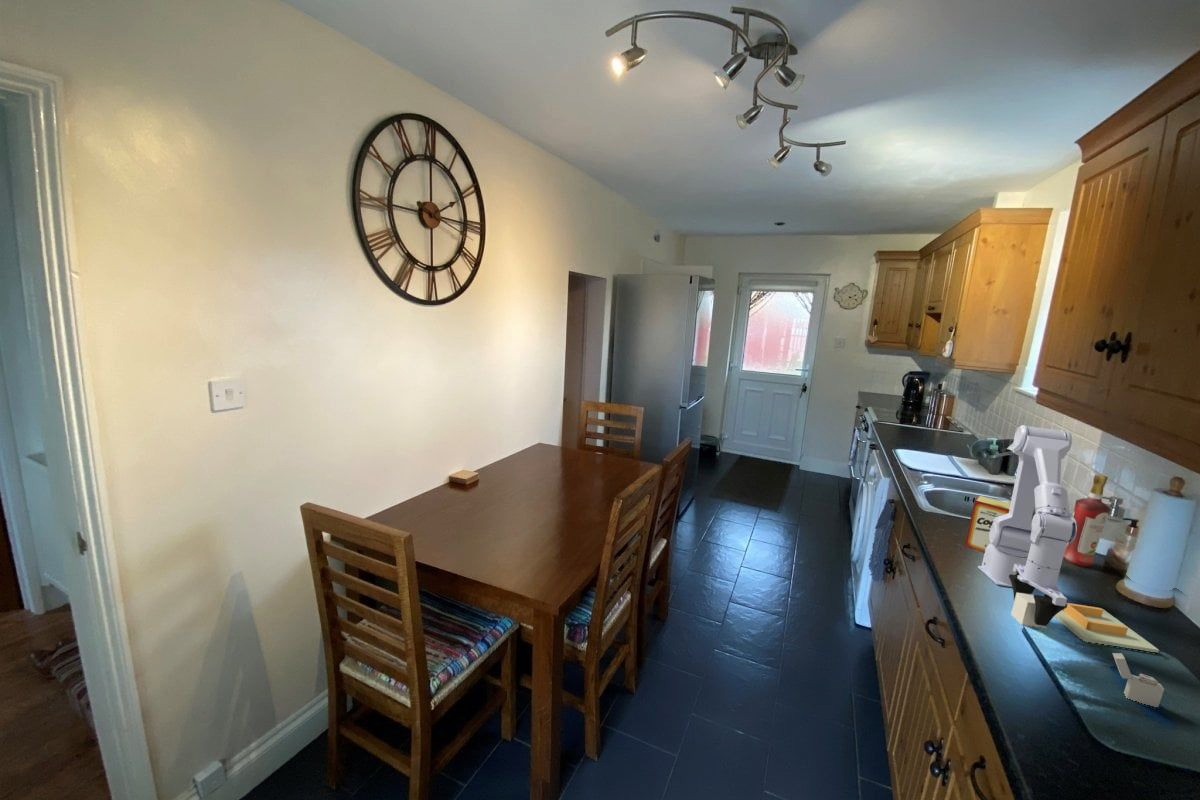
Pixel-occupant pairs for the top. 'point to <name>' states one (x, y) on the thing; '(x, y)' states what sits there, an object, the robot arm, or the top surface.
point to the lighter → (1139, 684)
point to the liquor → (1088, 524)
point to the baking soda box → (984, 521)
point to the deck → (1100, 627)
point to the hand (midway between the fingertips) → (1029, 614)
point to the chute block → (1025, 610)
